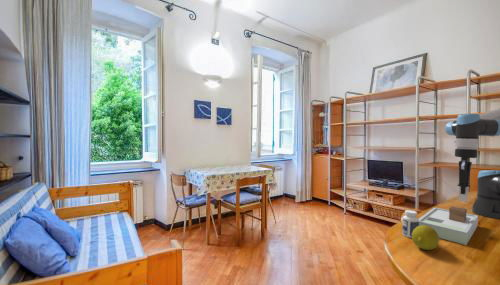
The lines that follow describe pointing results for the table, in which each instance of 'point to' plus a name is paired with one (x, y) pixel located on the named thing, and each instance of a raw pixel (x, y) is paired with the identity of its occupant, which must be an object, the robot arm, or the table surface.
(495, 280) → the table surface
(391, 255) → the table surface
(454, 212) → the walnut block
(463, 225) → the board
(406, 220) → the pill bottle
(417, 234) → the lemon
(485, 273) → the table surface
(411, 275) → the table surface
